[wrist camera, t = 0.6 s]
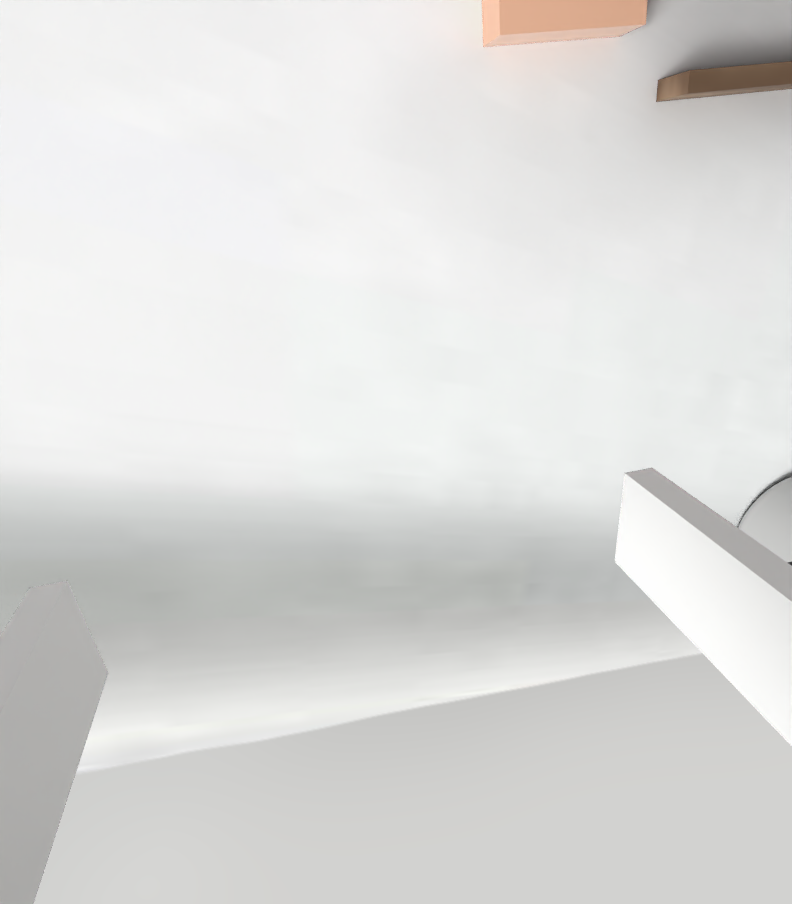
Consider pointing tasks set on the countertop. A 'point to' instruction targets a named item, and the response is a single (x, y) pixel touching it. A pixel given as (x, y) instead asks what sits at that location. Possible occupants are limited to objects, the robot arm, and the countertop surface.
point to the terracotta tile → (558, 20)
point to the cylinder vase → (772, 520)
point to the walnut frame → (726, 81)
